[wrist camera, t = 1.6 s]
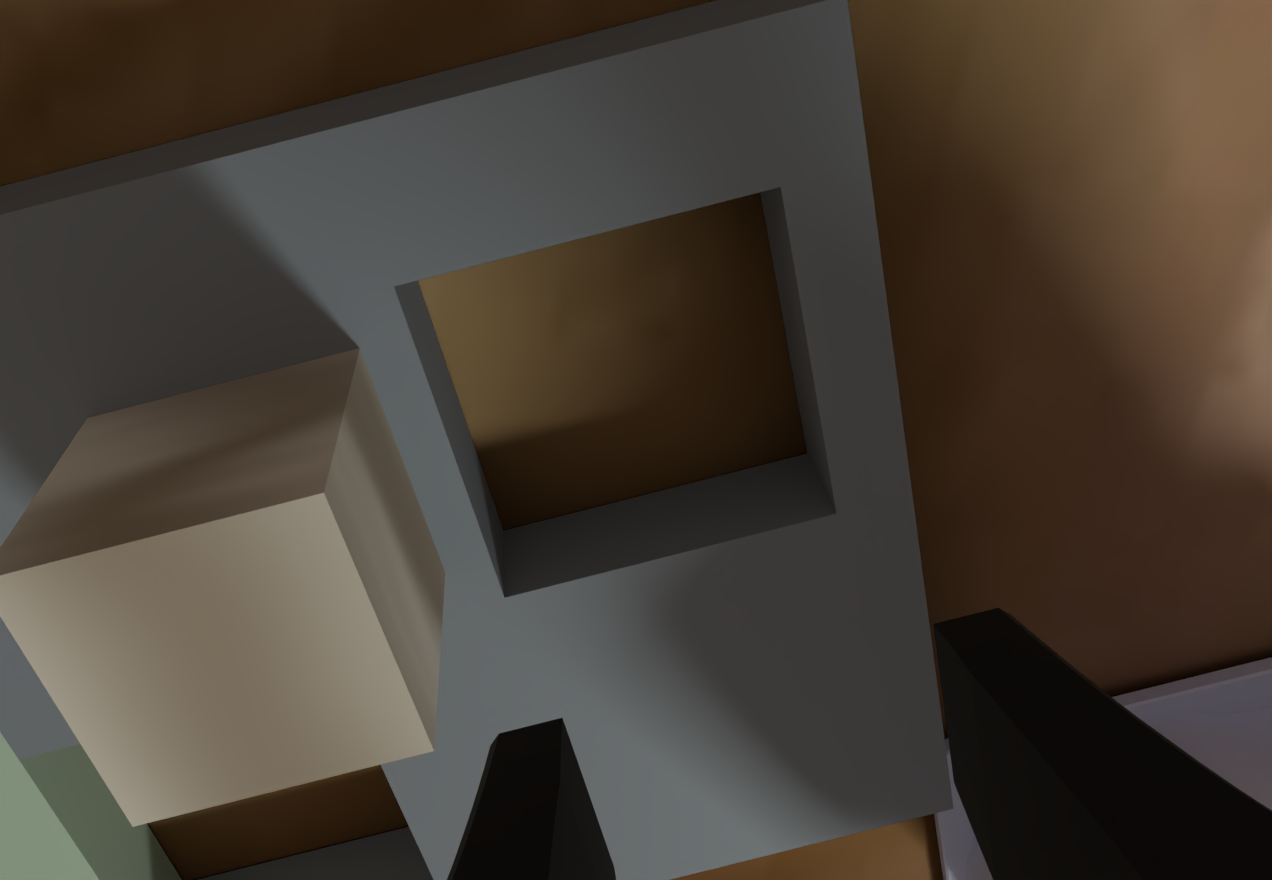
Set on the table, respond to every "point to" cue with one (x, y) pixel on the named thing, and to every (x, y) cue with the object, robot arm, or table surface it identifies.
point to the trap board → (448, 462)
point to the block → (232, 590)
